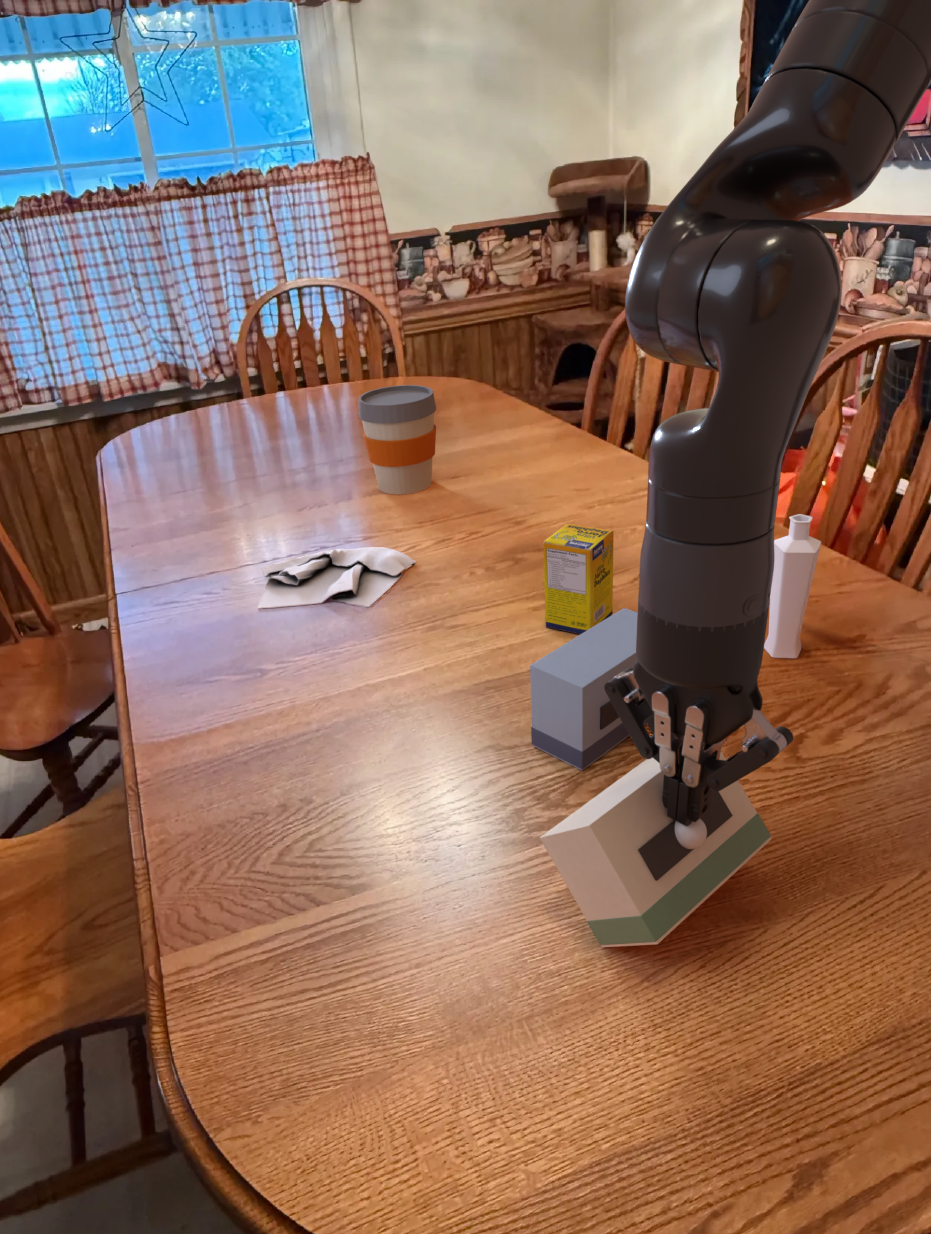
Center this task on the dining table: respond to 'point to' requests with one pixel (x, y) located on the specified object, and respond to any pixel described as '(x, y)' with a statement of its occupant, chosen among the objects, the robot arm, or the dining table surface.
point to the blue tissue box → (582, 692)
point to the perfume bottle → (791, 587)
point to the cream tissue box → (650, 856)
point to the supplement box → (578, 577)
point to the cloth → (334, 577)
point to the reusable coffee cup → (400, 436)
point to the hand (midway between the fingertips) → (684, 815)
